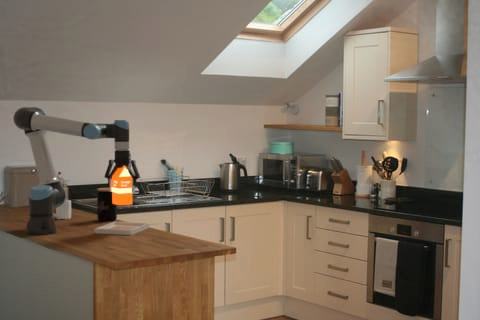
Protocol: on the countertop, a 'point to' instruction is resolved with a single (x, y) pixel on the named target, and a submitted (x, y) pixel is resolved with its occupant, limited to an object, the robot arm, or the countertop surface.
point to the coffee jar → (105, 205)
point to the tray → (121, 228)
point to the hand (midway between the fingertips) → (122, 191)
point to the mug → (63, 210)
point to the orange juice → (122, 187)
